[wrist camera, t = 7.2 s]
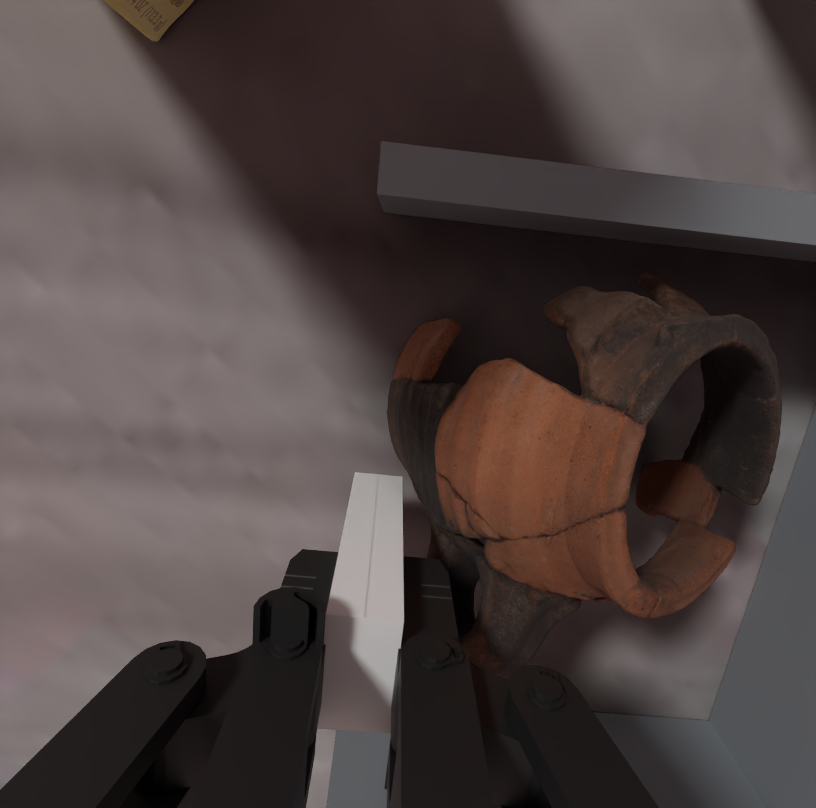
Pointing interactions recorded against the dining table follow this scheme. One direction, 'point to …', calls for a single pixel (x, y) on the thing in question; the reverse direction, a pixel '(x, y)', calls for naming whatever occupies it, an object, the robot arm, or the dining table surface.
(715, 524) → the dining table surface
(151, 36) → the candy box
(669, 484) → the pottery mug
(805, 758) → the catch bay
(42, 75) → the dining table surface
